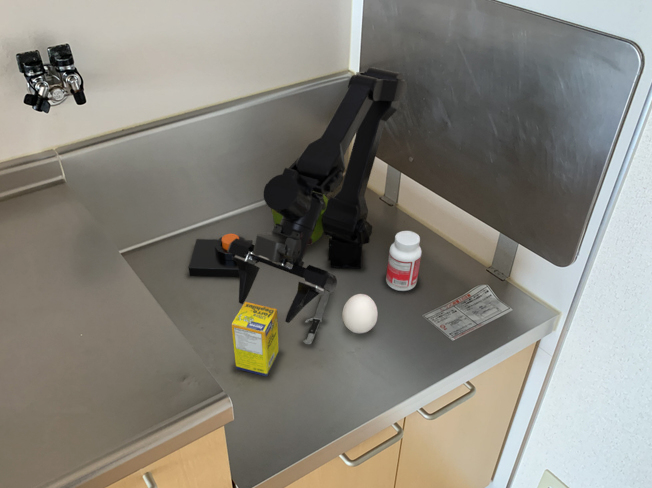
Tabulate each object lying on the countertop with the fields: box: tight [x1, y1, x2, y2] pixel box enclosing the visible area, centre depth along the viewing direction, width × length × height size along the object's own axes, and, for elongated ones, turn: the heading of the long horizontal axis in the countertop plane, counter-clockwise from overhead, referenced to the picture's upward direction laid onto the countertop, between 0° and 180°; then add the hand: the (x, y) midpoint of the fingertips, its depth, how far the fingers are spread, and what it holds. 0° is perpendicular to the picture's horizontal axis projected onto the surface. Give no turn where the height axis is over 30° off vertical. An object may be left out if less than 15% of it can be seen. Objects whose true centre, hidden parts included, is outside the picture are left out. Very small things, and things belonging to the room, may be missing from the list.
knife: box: [303, 290, 331, 345], centre depth 115 cm, size 15×1×3 cm
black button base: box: [188, 235, 253, 279], centre depth 127 cm, size 12×10×4 cm
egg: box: [341, 293, 379, 334], centre depth 111 cm, size 6×6×8 cm
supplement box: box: [231, 301, 280, 377], centre depth 104 cm, size 6×6×11 cm
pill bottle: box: [385, 230, 423, 292], centre depth 120 cm, size 6×6×11 cm
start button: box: [221, 233, 239, 250], centre depth 126 cm, size 4×4×2 cm
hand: (263, 312), depth 102 cm, fingers open, 9 cm apart
